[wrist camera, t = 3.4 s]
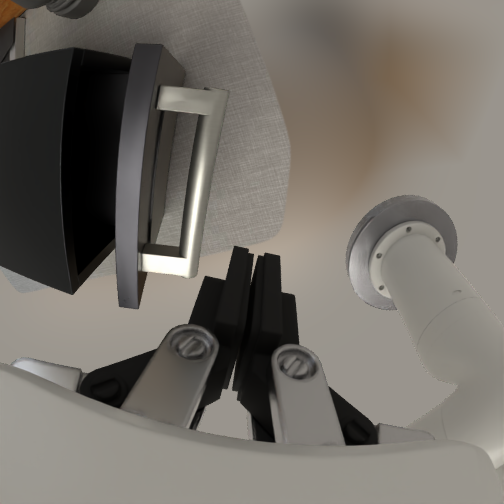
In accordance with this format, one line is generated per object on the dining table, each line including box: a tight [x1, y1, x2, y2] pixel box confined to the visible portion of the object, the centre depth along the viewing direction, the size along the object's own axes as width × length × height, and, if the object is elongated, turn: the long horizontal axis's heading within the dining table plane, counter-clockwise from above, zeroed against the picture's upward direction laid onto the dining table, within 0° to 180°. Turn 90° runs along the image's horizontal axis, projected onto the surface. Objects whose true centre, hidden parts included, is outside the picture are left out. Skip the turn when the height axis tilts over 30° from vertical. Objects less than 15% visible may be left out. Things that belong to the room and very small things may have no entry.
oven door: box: [115, 43, 229, 309], centre depth 24 cm, size 6×18×18 cm, turn 168°
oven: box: [0, 47, 132, 295], centre depth 23 cm, size 18×18×18 cm
